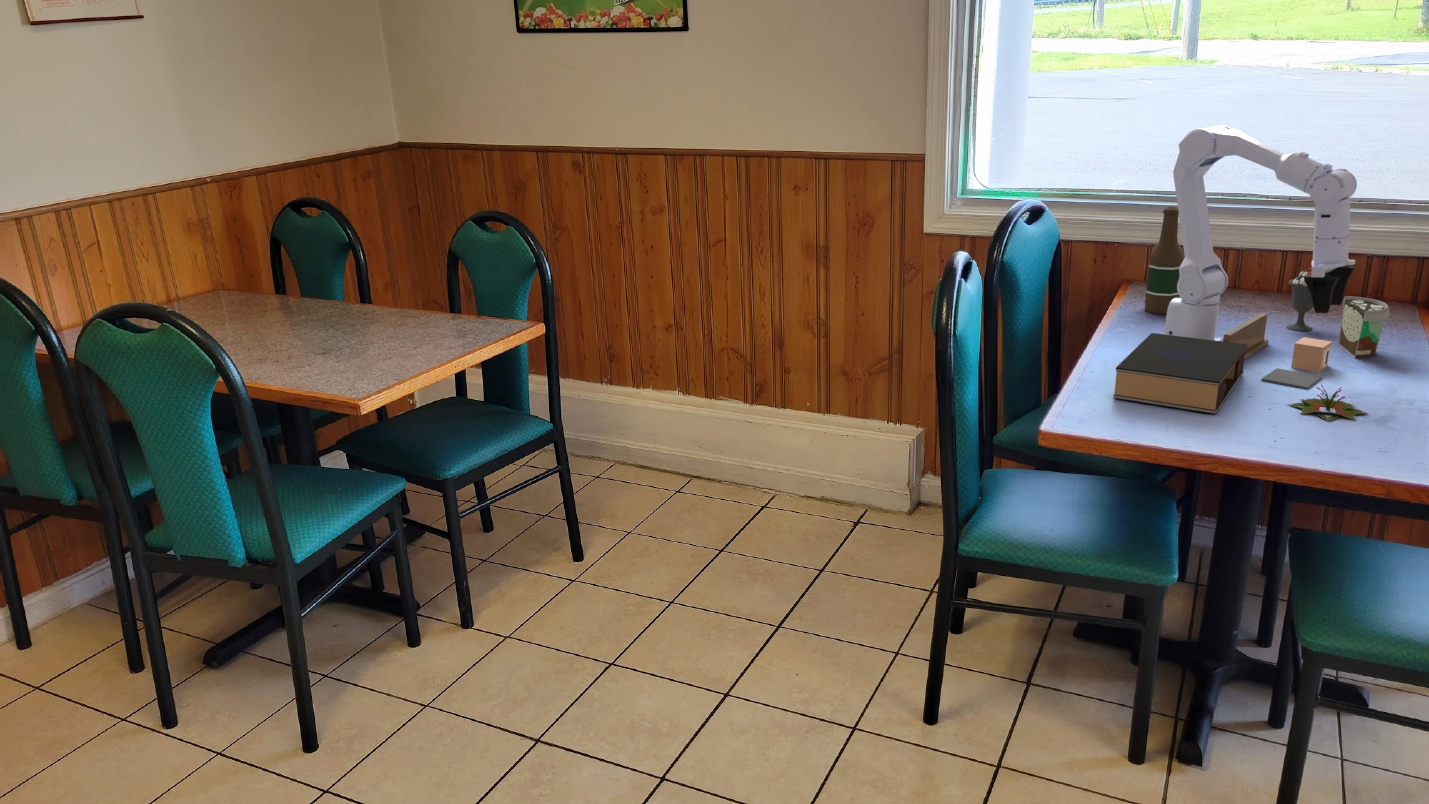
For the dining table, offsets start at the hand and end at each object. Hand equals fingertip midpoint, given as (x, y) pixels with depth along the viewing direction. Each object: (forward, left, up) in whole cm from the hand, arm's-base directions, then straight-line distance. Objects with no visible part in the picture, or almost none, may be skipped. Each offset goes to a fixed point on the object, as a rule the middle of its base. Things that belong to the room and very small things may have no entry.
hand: (1328, 308), depth 198 cm
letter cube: (-2, 0, -12) cm, 12 cm away
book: (-16, -27, -12) cm, 34 cm away
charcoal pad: (-2, -10, -12) cm, 16 cm away
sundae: (-12, +26, -12) cm, 31 cm away
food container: (+3, +16, -12) cm, 20 cm away
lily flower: (+8, -23, -13) cm, 28 cm away
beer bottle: (-41, +23, -12) cm, 48 cm away
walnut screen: (-14, 0, -12) cm, 18 cm away
